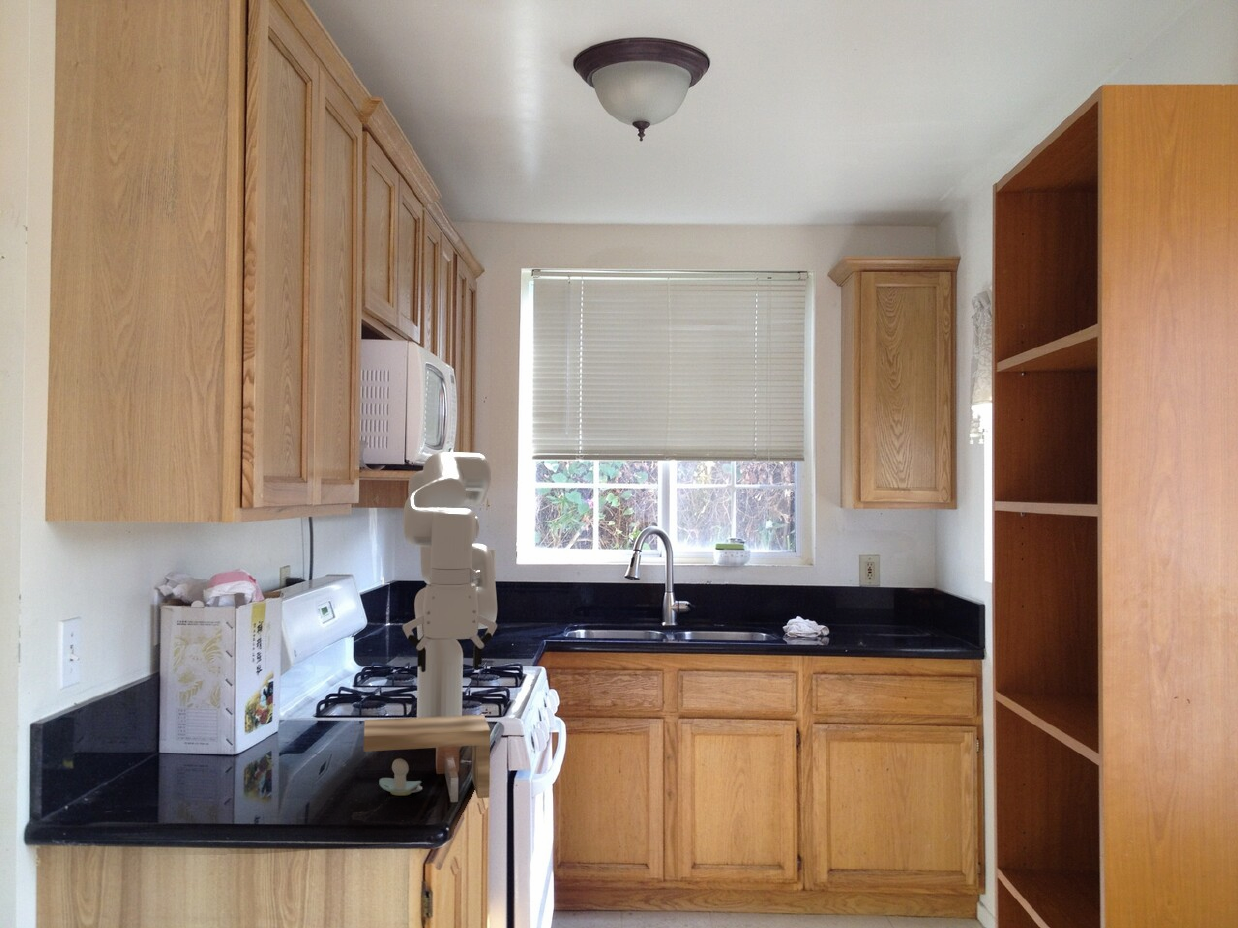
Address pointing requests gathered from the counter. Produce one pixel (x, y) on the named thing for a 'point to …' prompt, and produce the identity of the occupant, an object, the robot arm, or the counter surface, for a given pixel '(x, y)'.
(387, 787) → the pacifier
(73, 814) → the counter surface
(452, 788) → the orange-brown mallet
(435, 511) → the robot arm
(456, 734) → the oak shelf
